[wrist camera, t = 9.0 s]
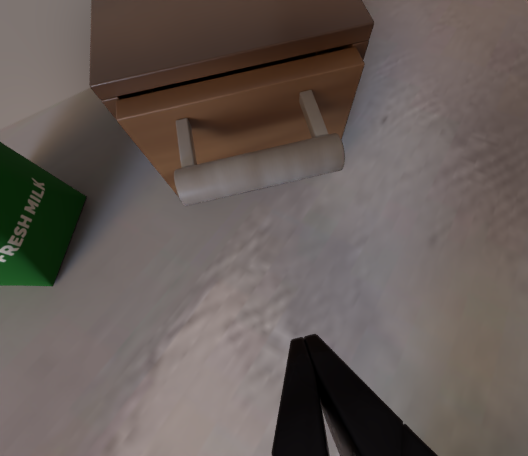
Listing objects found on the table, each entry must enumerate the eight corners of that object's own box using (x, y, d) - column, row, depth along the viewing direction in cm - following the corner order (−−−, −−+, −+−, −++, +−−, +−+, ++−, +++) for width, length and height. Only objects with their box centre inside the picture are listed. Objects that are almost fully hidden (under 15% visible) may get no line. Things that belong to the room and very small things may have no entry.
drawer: (354, 216, 18) (404, 140, 10) (186, 255, 17) (117, 205, 10) (287, 40, 24) (289, -86, 17) (164, 68, 24) (111, -47, 16)
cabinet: (334, 155, 20) (375, 22, 11) (175, 192, 20) (88, 86, 11) (287, 32, 26) (290, -126, 17) (160, 61, 25) (92, -84, 16)
